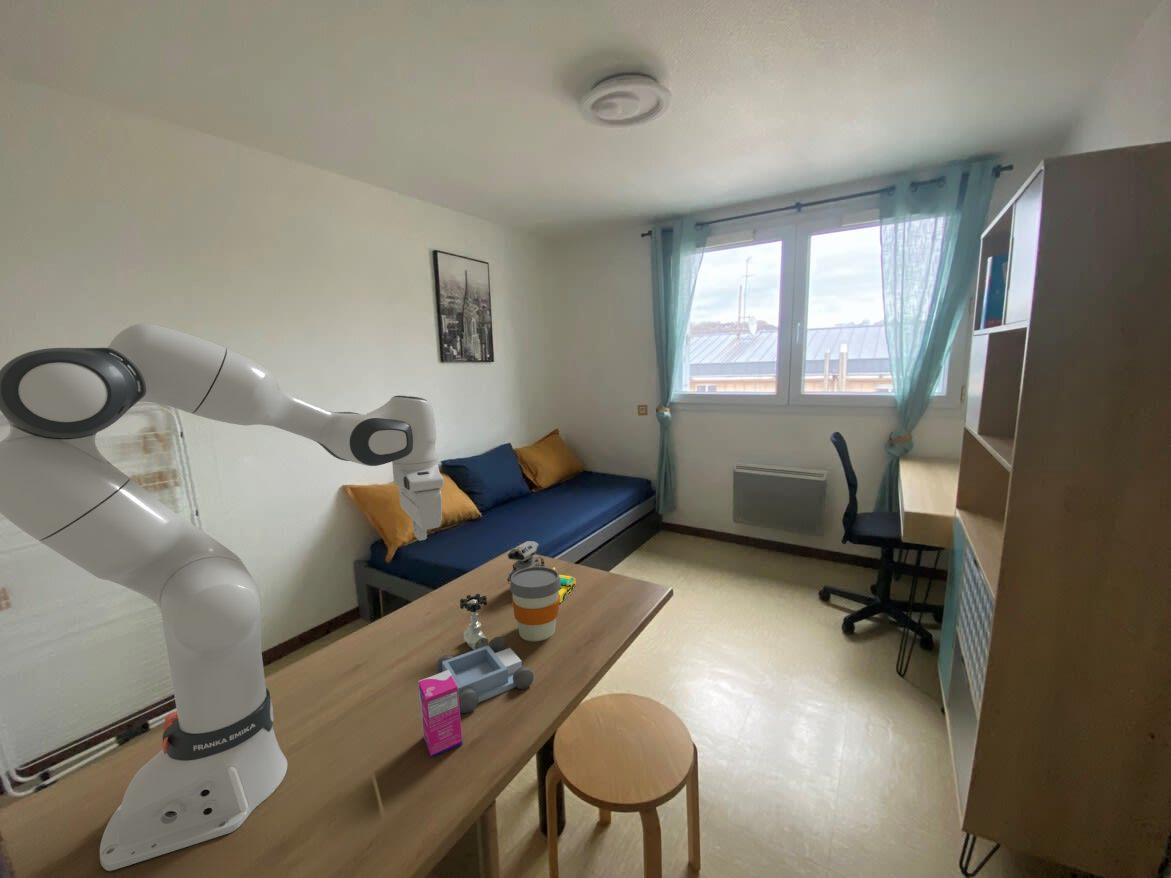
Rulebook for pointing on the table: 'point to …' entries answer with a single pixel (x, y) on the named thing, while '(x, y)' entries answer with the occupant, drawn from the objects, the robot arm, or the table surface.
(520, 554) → the figurine
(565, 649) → the table surface
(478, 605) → the valve
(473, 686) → the chassis
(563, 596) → the toy car
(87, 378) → the robot arm
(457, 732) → the supplement box
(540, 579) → the reusable coffee cup
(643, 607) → the table surface
